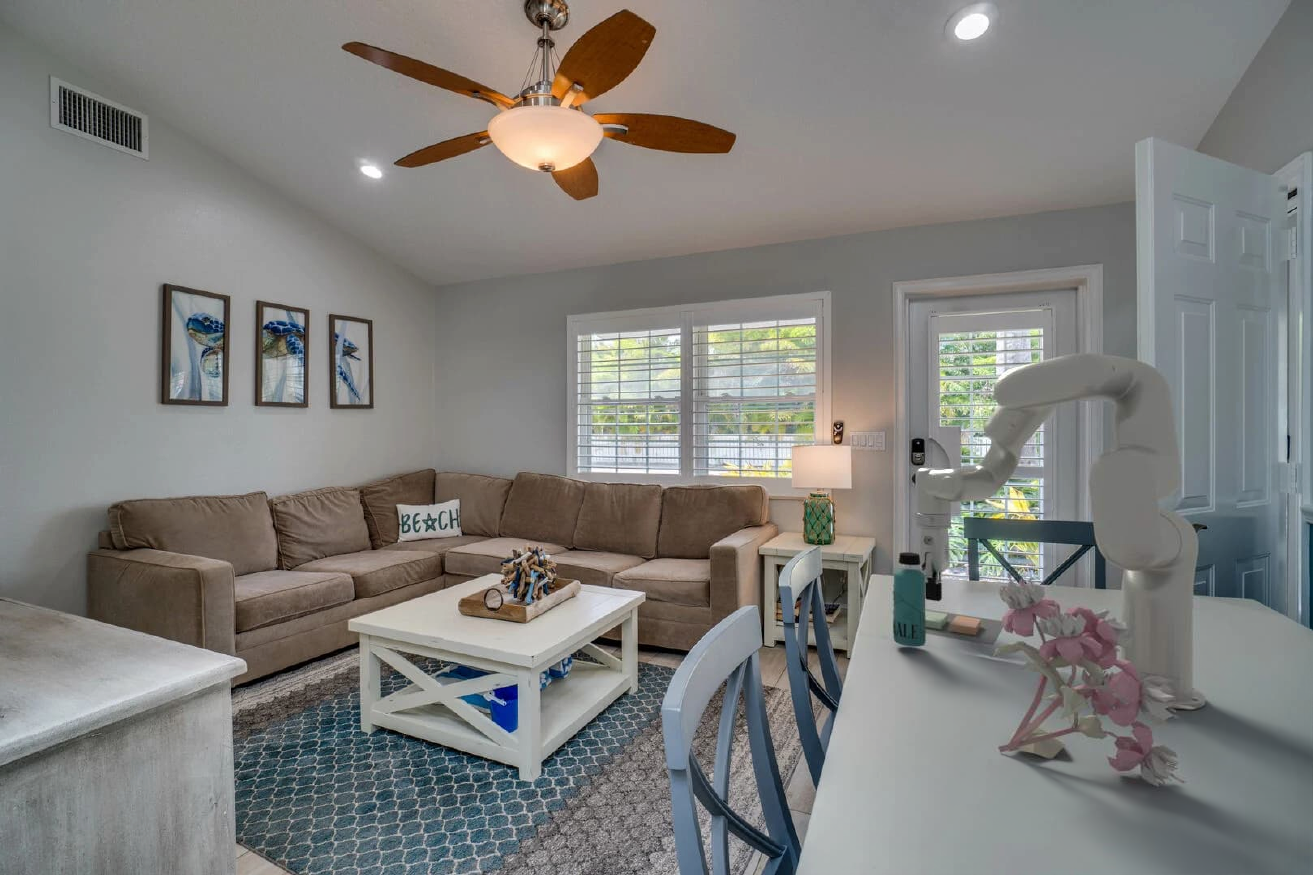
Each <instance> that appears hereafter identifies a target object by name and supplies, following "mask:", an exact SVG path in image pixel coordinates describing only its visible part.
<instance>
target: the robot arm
mask: <svg viewBox="0 0 1313 875" xmlns="http://www.w3.org/2000/svg"><path fill="white" fill-rule="evenodd" d="M993 397H994V400H995V402H996V403H997V404H998V406H997V407H996V409H995V410H994V411H993V412H992V414H991V415H990V417H988V418H987V420H986V421H985V423H984V424H983V432H984V433H985V435H986V437H987V438H988V439H989V440H990V441H991V442H990V446H989V449H988V451H987V452H986V454H984V457H983V458H982V459H981V460H980V461H979V462H978V464H977V465H976V466H975V467H959V468H957V467H955V468H945V467H921V468H918V469H917V470H916V471H915V527H916V528H919V546H918V547H919V548H918V550H919V551H918V553H919V556H920V565H919V568H920V569H919V570H920V571H922V572H923V571H924V572H925V573H924V575H925V576H926V579H925V600H928V601H933V602H940V601H942V598H943V597H942V596H943V594H942V592H943V587H942V586H943V583H942V574H943V573H944V572H945V571H946V570H947V569H948V568H949V567H950V566H951V559H950V558H951V557H950V556H951V555H950V553H951V552H950V536H949V529H952V503H968V502H979V501H985V500H988V499H990V498H992V497H994V496H995V495H996V494H997V493H998V492H1000V491H1001V489H1002V488H1003V487H1004V486H1005V485H1006V484H1007V482H1009V480H1010V479H1011V478H1012V476H1013V475H1014V474H1015V473H1016V470H1017V469H1018V466H1019V464H1020V461H1021V456H1022V449H1023V448H1024V446H1025V445H1026V444H1027V443H1028V442H1029V440H1030V439H1031V438H1032V437H1033V435H1034V434H1035V433H1036V432H1037V431H1038V429H1039V428H1040V427H1041V426H1042V424H1044V422H1045V421H1046V420H1047V419H1048V418H1049V417H1050V415H1051V414H1052V413H1053V412H1054V410H1055V409H1057V407H1058V406H1059V405H1060V404H1066V403H1072V402H1074V403H1075V402H1103V403H1104V402H1106V403H1111V404H1113V406H1114V413H1113V419H1112V431H1113V437H1114V438H1113V439H1114V448H1110V449H1108V450H1106V451H1104V452H1103V453H1101V454H1100V455H1099V456H1098V457H1097V458H1096V459H1095V460H1094V462H1093V464H1092V465H1091V468H1090V471H1089V479H1088V485H1089V488H1088V489H1089V498H1090V505H1091V513H1092V521H1093V522H1092V523H1093V524H1092V525H1093V532H1094V538H1095V543H1096V545H1097V548H1098V550H1099V552H1100V554H1101V555H1102V556H1103V558H1104V559H1105V560H1106V561H1107V562H1108V563H1110V564H1111V565H1113V566H1114V567H1116V568H1119V569H1121V570H1123V573H1122V581H1121V600H1120V601H1121V608H1120V610H1121V616H1120V617H1121V622H1120V623H1123V622H1127V623H1129V628H1128V631H1127V633H1128V634H1127V635H1130V636H1129V637H1128V636H1125V638H1130V639H1132V640H1133V641H1132V643H1131V645H1130V648H1125V649H1124V648H1122V647H1121V646H1120V648H1121V650H1120V653H1121V656H1120V657H1121V658H1120V659H1123V660H1127V661H1130V662H1131V663H1132V665H1133V666H1134V667H1135V669H1136V670H1137V673H1138V676H1139V680H1140V684H1141V683H1142V682H1143V681H1144V680H1145V679H1147V678H1148V677H1150V676H1160V677H1163V678H1166V679H1169V680H1172V681H1173V682H1170V683H1167V684H1166V685H1167V686H1168V687H1170V688H1171V691H1172V692H1175V691H1177V692H1176V695H1172V694H1171V695H1172V696H1174V697H1173V698H1171V699H1176V702H1175V701H1169V700H1168V701H1169V702H1171V703H1172V704H1179V705H1185V706H1190V707H1193V708H1195V709H1194V710H1196V709H1200V708H1202V707H1204V706H1205V705H1206V696H1205V695H1204V694H1203V693H1202V692H1201V691H1200V690H1199V689H1196V688H1195V687H1194V686H1193V685H1194V683H1193V681H1194V680H1193V679H1194V678H1193V677H1194V675H1193V674H1194V673H1193V672H1194V671H1193V669H1194V667H1193V666H1194V664H1193V661H1194V658H1193V657H1194V654H1193V653H1194V649H1193V648H1194V646H1193V644H1194V634H1193V633H1194V632H1193V628H1194V627H1193V626H1194V624H1193V622H1194V620H1193V618H1194V617H1193V616H1194V614H1193V612H1194V610H1193V609H1194V584H1195V583H1194V582H1195V574H1196V568H1197V561H1198V554H1199V537H1198V534H1197V532H1196V529H1195V528H1194V526H1193V525H1192V524H1191V522H1190V521H1189V520H1188V519H1187V518H1186V517H1185V516H1182V515H1181V514H1179V513H1177V512H1174V511H1172V510H1169V509H1168V510H1167V509H1162V508H1160V506H1159V505H1160V504H1159V501H1161V500H1165V499H1167V498H1170V497H1172V496H1173V495H1175V494H1176V493H1177V492H1178V491H1179V490H1180V487H1181V485H1182V481H1183V480H1182V479H1183V475H1182V474H1183V472H1182V466H1181V465H1182V464H1181V459H1180V453H1179V452H1180V450H1179V444H1178V439H1177V438H1178V436H1177V431H1176V426H1175V419H1174V409H1173V400H1172V394H1171V390H1170V387H1169V384H1168V382H1167V380H1166V378H1165V377H1164V376H1163V375H1162V373H1161V372H1160V371H1159V370H1158V369H1156V368H1155V367H1153V366H1152V365H1150V364H1148V363H1146V362H1143V361H1140V360H1138V359H1135V358H1133V359H1132V358H1130V357H1124V356H1119V355H1118V356H1117V355H1110V354H1098V353H1090V352H1078V353H1077V352H1076V353H1070V354H1065V355H1061V356H1060V355H1059V356H1057V357H1053V358H1049V359H1044V360H1041V361H1040V360H1039V361H1036V362H1031V363H1027V364H1022V365H1018V366H1015V367H1012V368H1010V369H1008V370H1006V371H1004V372H1003V373H1002V374H1001V375H1000V376H999V377H998V378H997V380H996V381H995V383H994V387H993ZM1120 670H1121V671H1123V670H1122V669H1120ZM1168 708H1171V709H1175V710H1179V709H1180V710H1184V709H1183V708H1178V707H1173V706H1170V707H1168ZM1168 708H1167V709H1168Z"/></svg>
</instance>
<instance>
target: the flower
mask: <svg viewBox="0 0 1313 875" xmlns="http://www.w3.org/2000/svg"><path fill="white" fill-rule="evenodd" d="M1011 575H1012V574H1011V573H1009V572H1007V577H1008V580H1009V582H1008V585H1005V584H1004V585H1003V586H1001V585H1000V588H999V593H998V594H999V596H1000V599H1001V600H1002V602H1004V603H1006V605H1007V606H1008V608H1009V610H1007V612H1006V613H1005V614H1004V615H1003V616H1002V618H1001V621H1002V623H1003V628H1002V629H1004V631H1005V632H1006V633H1010V634H1013V632H1014V633H1015V635H1018V636H1021V637H1023V638H1029V637H1034V631H1035V630H1034V624H1035V627H1036V629H1037V631H1038V634H1039V636H1040V639H1041V641H1042V644H1041V645H1040V647H1039V649H1038V648H1036V647H1034V646H1032V645H1030V644H1028V643H1026V642H1025V641H1023V640H1022V641H1019V640H1018V641H1017V640H1016V641H1014V642H1011V643H1008V644H1005V645H1002V646H999V647H996V649H995V651H994V653H993V656H992V658H995V657H996V656H998V654H999V653H1001V654H1008V655H1009V654H1012V653H1013V654H1014V653H1017V652H1020V651H1022V652H1024V654H1026V655H1027V656H1028V657H1029V658H1030V659H1031V660H1032V661H1033V662H1032V661H1026V662H1025V664H1024V665H1023V666H1022V667H1021V669H1022V670H1024V669H1026V668H1027V669H1029V670H1030V671H1032V672H1035V673H1041V675H1040V678H1039V682H1038V684H1037V689H1036V692H1035V695H1034V698H1033V700H1032V702H1031V705H1030V707H1029V708H1028V710H1027V711H1026V714H1024V717H1023V719H1022V720H1021V722H1020V723H1019V725H1018V726H1017V727H1016V729H1015V730H1014V731H1013V732H1012V733H1011V734H1010V736H1009V743H1007V744H1004V745H1000V746H997V748H998V751H999V752H1000V753H1004V752H1007V753H1009V752H1013V751H1021V752H1026V753H1032V754H1035V755H1037V756H1039V757H1043V758H1045V759H1049V760H1051V759H1052V758H1055V757H1056V756H1057V755H1058V754H1059V753H1060V752H1061V750H1063V748H1064V747H1065V745H1066V744H1065V743H1064V742H1063V740H1062V739H1061V738H1060V737H1061V736H1062V737H1063V736H1065V735H1069V734H1072V733H1081V734H1083V735H1084V736H1086V737H1087V738H1092V739H1098V740H1103V739H1105V738H1107V737H1108V736H1111V737H1114V738H1115V742H1114V745H1115V747H1116V749H1117V750H1116V752H1115V758H1113V757H1110V756H1108V755H1106V758H1107V761H1108V764H1109V766H1110V767H1111V768H1113V769H1115V770H1116V771H1118V772H1127V771H1128V772H1129V771H1132V770H1133V769H1135V768H1136V767H1137V766H1138V765H1140V775H1141V776H1140V777H1141V778H1142V779H1143V780H1144V781H1146V783H1148V784H1151V785H1153V786H1156V787H1160V785H1159V783H1158V780H1160V781H1161V782H1162V783H1163V784H1164V785H1165V786H1167V784H1166V782H1165V780H1169V781H1170V782H1171V783H1173V780H1172V779H1171V778H1173V779H1175V780H1176V781H1178V782H1179V783H1182V784H1185V783H1187V782H1186V781H1185V780H1182V779H1180V778H1179V777H1178V776H1175V774H1173V773H1172V772H1174V771H1175V770H1178V769H1179V768H1177V767H1178V764H1180V762H1178V761H1177V760H1175V759H1174V758H1178V754H1177V752H1176V751H1175V750H1173V749H1172V748H1170V747H1168V746H1167V745H1165V744H1163V745H1155V746H1153V745H1154V742H1155V741H1154V738H1153V730H1152V729H1151V727H1150V726H1148V725H1147V724H1144V723H1142V722H1141V721H1139V720H1136V719H1137V718H1138V715H1139V711H1141V713H1142V714H1143V716H1144V718H1145V719H1146V720H1147V721H1149V722H1151V723H1153V724H1154V725H1158V726H1159V725H1161V726H1170V723H1168V722H1167V721H1166V720H1167V719H1169V718H1172V717H1174V718H1175V719H1176V720H1180V718H1179V717H1180V716H1179V715H1178V714H1176V713H1177V711H1176V710H1177V709H1175V708H1168V707H1170V706H1173V707H1178V708H1183V709H1182V710H1196V709H1195V708H1193V707H1190V706H1185V705H1179V704H1172V703H1171V702H1169V701H1175V702H1176V699H1171V698H1173V697H1174V696H1172V695H1176V692H1177V691H1175V692H1172V691H1171V688H1170V687H1168V686H1167V685H1166V684H1167V683H1170V682H1173V681H1172V680H1169V679H1166V678H1163V677H1160V676H1150V677H1148V678H1147V679H1145V680H1144V681H1143V682H1142V683H1141V684H1140V680H1139V676H1138V673H1137V670H1136V669H1135V667H1134V666H1133V665H1132V663H1131V662H1130V661H1127V660H1123V659H1121V658H1120V659H1119V658H1118V659H1117V657H1118V654H1117V653H1118V652H1121V650H1120V649H1118V648H1117V646H1119V647H1120V648H1121V647H1122V648H1124V649H1125V648H1130V645H1131V643H1132V641H1133V640H1132V639H1130V638H1125V636H1128V637H1129V636H1130V635H1127V634H1128V633H1127V631H1128V628H1129V623H1127V622H1123V623H1121V622H1117V618H1116V617H1113V618H1112V619H1110V618H1108V620H1106V617H1107V616H1108V615H1109V613H1110V612H1111V610H1110V609H1108V608H1105V609H1103V610H1101V611H1099V612H1097V613H1094V612H1093V610H1092V609H1090V608H1088V607H1085V606H1082V605H1079V606H1073V607H1072V606H1071V607H1067V609H1066V611H1065V613H1064V614H1063V613H1061V606H1060V604H1058V603H1057V602H1056V601H1055V600H1054V599H1051V598H1046V597H1045V596H1046V593H1045V588H1044V587H1043V586H1042V585H1041V584H1034V582H1033V581H1032V579H1031V577H1029V578H1028V580H1027V581H1026V580H1025V579H1023V578H1020V580H1019V581H1018V583H1019V586H1018V585H1016V583H1015V582H1014V581H1013V580H1012V578H1011ZM1037 617H1038V618H1039V621H1037ZM1045 635H1048V636H1051V637H1052V638H1053V637H1054V638H1053V639H1050V640H1047V641H1046V638H1045ZM1070 666H1071V675H1070V677H1069V679H1068V681H1067V683H1066V682H1065V680H1064V678H1062V676H1061V675H1060V673H1059V671H1058V670H1057V669H1058V668H1066V667H1070ZM1113 666H1115V667H1116V668H1119V669H1120V670H1121V669H1122V670H1123V671H1119V672H1116V673H1114V671H1111V672H1110V673H1106V672H1107V670H1110V669H1111V668H1112V667H1113ZM1077 667H1078V668H1081V669H1082V668H1083V669H1082V674H1081V679H1080V680H1081V681H1082V682H1083V683H1084V684H1082V685H1077V686H1074V687H1072V685H1073V683H1074V681H1075V679H1076V675H1077V674H1076V673H1077ZM1021 669H1020V670H1021ZM1048 680H1049V681H1050V684H1051V685H1052V687H1053V689H1054V691H1055V694H1049V695H1048V696H1046V697H1044V698H1043V695H1044V692H1045V689H1046V685H1047V681H1048ZM1114 694H1115V695H1116V696H1117V697H1116V696H1115V695H1114ZM1171 694H1172V695H1171ZM1090 697H1091V698H1090ZM1089 698H1090V699H1091V700H1090V701H1091V708H1093V712H1092V714H1089V715H1086V716H1084V717H1080V720H1079V718H1078V716H1079V713H1082V712H1084V711H1086V710H1087V709H1088V708H1089V703H1088V701H1087V700H1088V699H1089ZM1042 700H1050V701H1051V702H1052V703H1051V704H1050V705H1049V706H1047V707H1046V708H1045V709H1044V710H1043V711H1042V712H1041V713H1040V714H1039V715H1038V716H1036V717H1035V719H1033V720H1032V718H1033V716H1034V714H1035V712H1036V711H1037V710H1038V707H1039V706H1040V704H1041V702H1042ZM1121 700H1122V701H1121ZM1168 700H1169V701H1168ZM1123 701H1124V702H1127V703H1128V704H1126V703H1124V702H1123ZM1059 707H1062V708H1063V709H1064V711H1063V713H1062V715H1061V717H1060V719H1064V718H1067V717H1068V718H1067V719H1068V722H1069V726H1070V727H1068V728H1064V729H1061V730H1059V731H1054V732H1053V731H1051V730H1049V729H1046V728H1044V727H1042V726H1040V725H1042V723H1043V722H1045V720H1046V719H1048V717H1049V716H1050V715H1051V714H1052V713H1054V712H1055V710H1056V709H1058V708H1059ZM1114 707H1115V708H1114ZM1167 709H1168V710H1167ZM1169 710H1170V711H1172V712H1174V714H1173V713H1172V712H1170V711H1169ZM1098 715H1101V716H1103V717H1104V716H1108V717H1109V719H1110V721H1112V722H1113V724H1115V725H1117V726H1119V727H1121V728H1124V727H1128V726H1131V727H1132V730H1131V731H1130V732H1131V733H1132V735H1133V737H1134V738H1135V739H1134V738H1133V737H1131V736H1121V735H1120V736H1119V735H1116V734H1115V733H1114V732H1112V731H1107V730H1104V729H1103V728H1102V724H1103V722H1102V721H1101V720H1100V719H1099V717H1098ZM1031 720H1032V721H1031ZM1030 721H1031V722H1030ZM1170 771H1171V772H1170ZM1169 777H1171V778H1169ZM1157 779H1158V780H1157Z"/></svg>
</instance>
